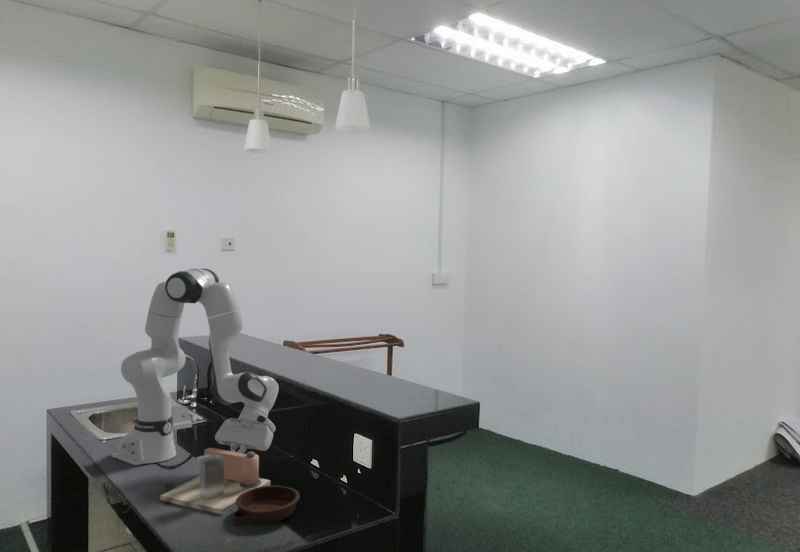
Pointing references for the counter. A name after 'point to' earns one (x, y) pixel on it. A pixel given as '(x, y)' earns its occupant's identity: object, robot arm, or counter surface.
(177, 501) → the base board
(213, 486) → the block
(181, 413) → the hinge
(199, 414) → the counter surface
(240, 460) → the link
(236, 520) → the dish
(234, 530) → the counter surface
